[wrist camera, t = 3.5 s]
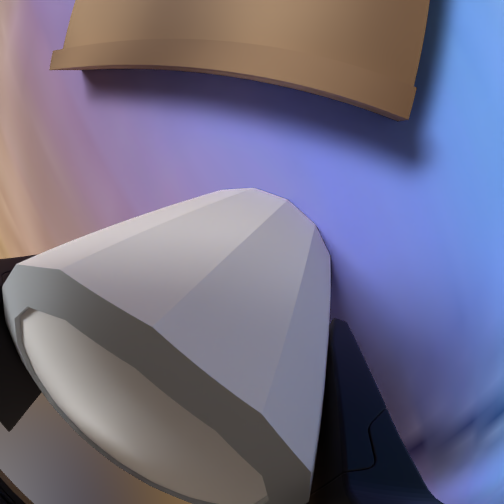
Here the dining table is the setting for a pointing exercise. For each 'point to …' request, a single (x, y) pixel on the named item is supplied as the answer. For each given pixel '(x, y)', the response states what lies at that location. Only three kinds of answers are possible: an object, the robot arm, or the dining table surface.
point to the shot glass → (187, 344)
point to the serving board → (261, 44)
